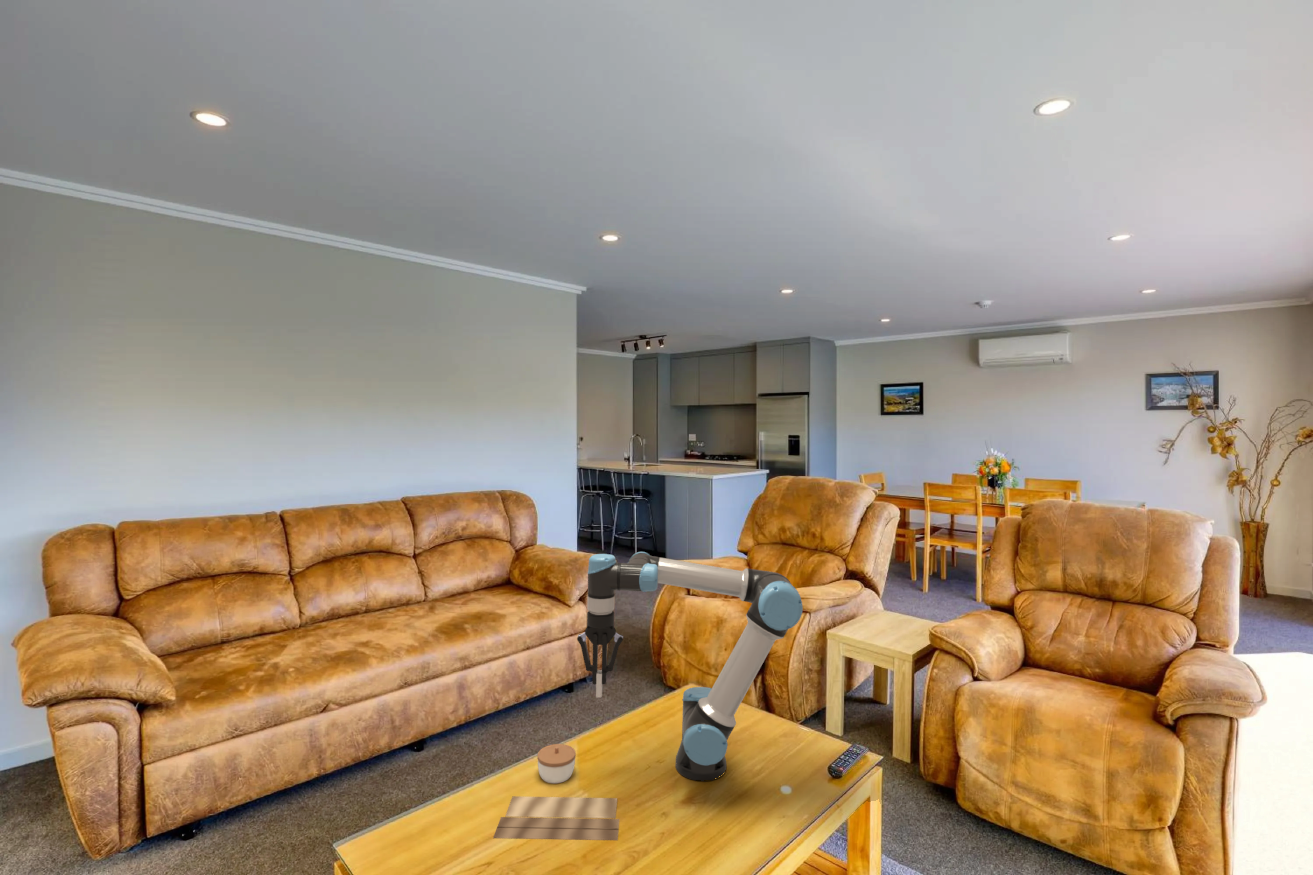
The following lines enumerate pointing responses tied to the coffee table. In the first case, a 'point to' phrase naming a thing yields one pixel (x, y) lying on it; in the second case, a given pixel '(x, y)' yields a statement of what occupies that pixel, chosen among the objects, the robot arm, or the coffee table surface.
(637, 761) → the coffee table surface
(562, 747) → the lidded jar
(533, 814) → the plank
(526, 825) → the laid board
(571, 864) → the coffee table surface
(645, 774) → the coffee table surface
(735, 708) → the robot arm
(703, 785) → the coffee table surface
